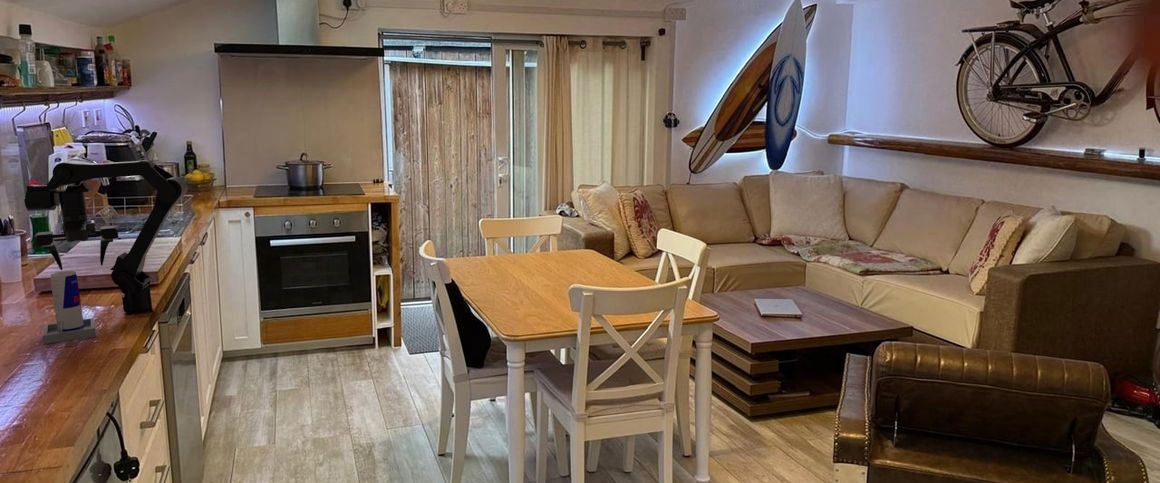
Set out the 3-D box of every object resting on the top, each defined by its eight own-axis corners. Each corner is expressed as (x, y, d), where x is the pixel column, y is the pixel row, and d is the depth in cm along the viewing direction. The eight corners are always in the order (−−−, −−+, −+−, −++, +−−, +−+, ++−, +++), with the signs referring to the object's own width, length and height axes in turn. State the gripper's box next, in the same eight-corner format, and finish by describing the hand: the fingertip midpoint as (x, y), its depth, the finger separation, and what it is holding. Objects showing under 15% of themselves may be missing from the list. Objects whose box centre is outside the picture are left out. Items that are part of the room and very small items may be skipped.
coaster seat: (95, 325, 216) (94, 317, 215) (95, 336, 207) (94, 328, 206) (45, 332, 211) (44, 324, 210) (44, 344, 201) (42, 335, 201)
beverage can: (73, 335, 206) (64, 276, 203) (52, 334, 207) (44, 275, 204) (89, 328, 211) (81, 270, 208) (70, 328, 212) (61, 270, 209)
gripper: (29, 217, 209) (39, 278, 212) (115, 209, 218) (122, 268, 221) (32, 211, 218) (40, 270, 221) (113, 204, 227) (121, 261, 230)
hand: (81, 267), depth 223 cm, fingers open, 9 cm apart
